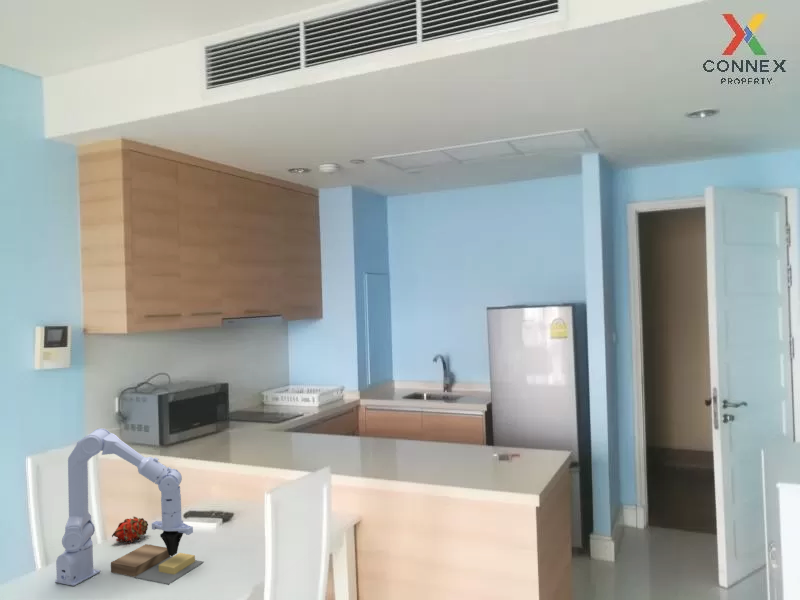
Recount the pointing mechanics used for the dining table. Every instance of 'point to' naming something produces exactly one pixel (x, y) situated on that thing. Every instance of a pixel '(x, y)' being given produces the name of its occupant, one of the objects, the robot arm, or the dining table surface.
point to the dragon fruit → (131, 529)
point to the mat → (162, 577)
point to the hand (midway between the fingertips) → (173, 554)
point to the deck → (139, 560)
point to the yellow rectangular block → (176, 563)
